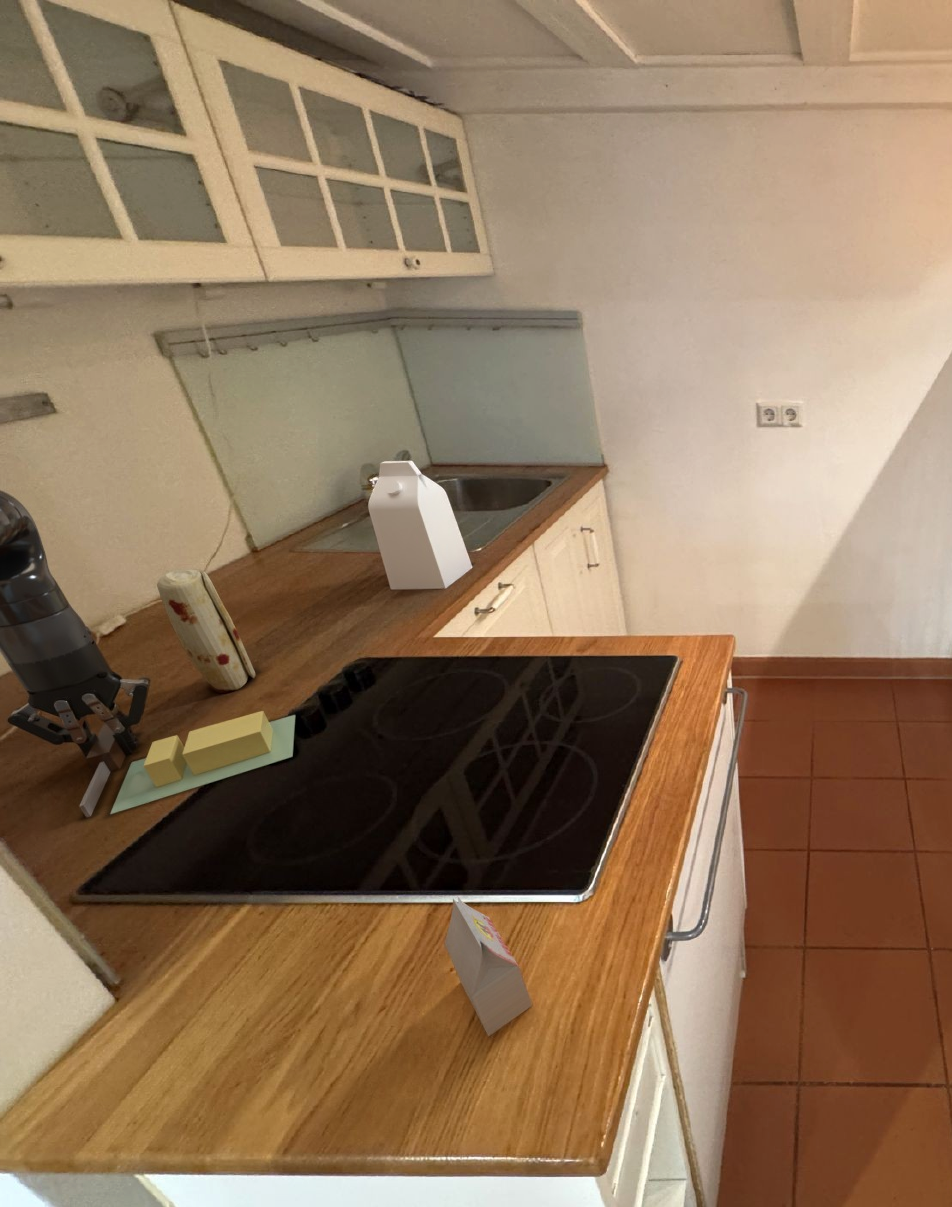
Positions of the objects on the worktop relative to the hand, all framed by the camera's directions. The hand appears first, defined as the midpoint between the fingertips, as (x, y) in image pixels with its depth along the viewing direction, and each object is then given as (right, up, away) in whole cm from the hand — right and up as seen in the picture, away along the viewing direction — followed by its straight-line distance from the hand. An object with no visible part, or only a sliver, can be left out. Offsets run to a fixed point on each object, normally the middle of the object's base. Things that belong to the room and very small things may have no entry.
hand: (117, 755), depth 90 cm
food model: (0, +7, +18) cm, 19 cm away
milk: (+10, +26, +56) cm, 63 cm away
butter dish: (+15, -1, -1) cm, 15 cm away
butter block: (+17, +1, 0) cm, 17 cm away
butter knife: (+3, -2, -4) cm, 5 cm away
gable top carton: (+68, -14, -32) cm, 77 cm away
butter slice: (+11, -1, -4) cm, 12 cm away
